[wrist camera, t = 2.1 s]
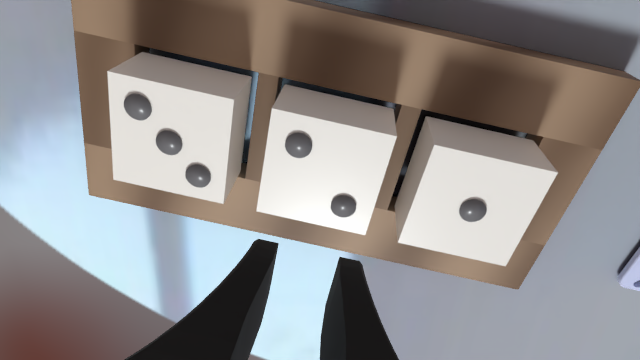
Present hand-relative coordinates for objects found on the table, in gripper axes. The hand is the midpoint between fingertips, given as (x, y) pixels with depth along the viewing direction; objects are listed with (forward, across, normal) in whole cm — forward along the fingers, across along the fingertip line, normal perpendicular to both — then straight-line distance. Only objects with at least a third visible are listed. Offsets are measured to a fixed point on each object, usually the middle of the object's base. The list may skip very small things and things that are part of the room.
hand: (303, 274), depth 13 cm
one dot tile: (+9, -6, 0) cm, 11 cm away
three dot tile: (+9, +7, 0) cm, 11 cm away
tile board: (+10, 0, 0) cm, 10 cm away
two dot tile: (+9, 0, 0) cm, 9 cm away
